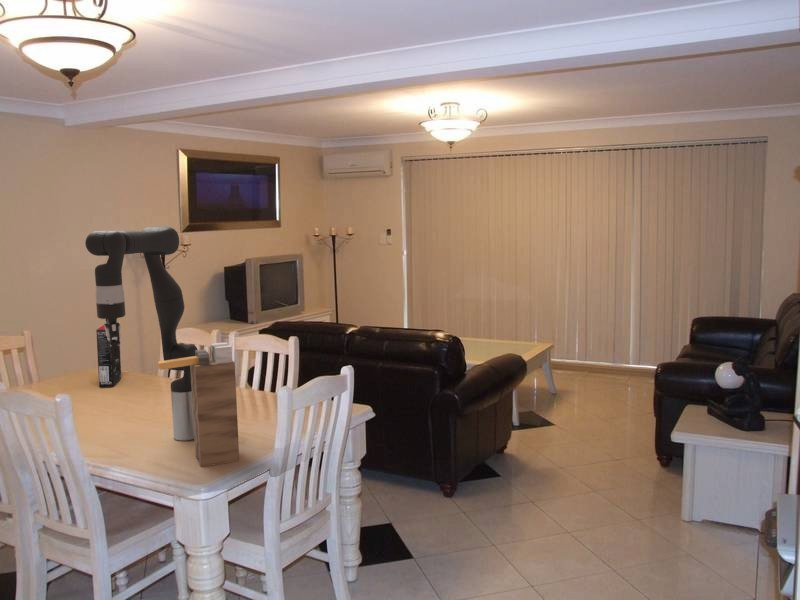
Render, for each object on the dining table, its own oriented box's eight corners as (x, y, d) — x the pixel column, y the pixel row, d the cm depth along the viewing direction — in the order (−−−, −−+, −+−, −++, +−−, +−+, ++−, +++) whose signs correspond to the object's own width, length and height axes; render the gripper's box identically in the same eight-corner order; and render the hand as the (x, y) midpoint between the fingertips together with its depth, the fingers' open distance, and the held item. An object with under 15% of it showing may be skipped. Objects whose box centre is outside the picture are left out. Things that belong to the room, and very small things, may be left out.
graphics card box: (107, 379, 332) (103, 322, 328) (123, 378, 333) (119, 322, 329) (99, 388, 315) (94, 329, 311) (115, 387, 316) (111, 328, 312)
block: (158, 367, 215) (157, 361, 215) (204, 360, 221) (204, 354, 221) (159, 369, 213) (159, 363, 212) (206, 362, 219) (205, 356, 218)
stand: (195, 456, 227) (189, 345, 222) (232, 450, 232) (227, 341, 227) (200, 467, 218) (194, 350, 213) (239, 460, 223) (234, 346, 218)
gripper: (94, 298, 205) (99, 353, 207) (97, 304, 192) (102, 362, 194) (122, 297, 208) (126, 350, 210) (126, 302, 195) (130, 359, 198)
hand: (114, 356), depth 202 cm, fingers open, 8 cm apart
